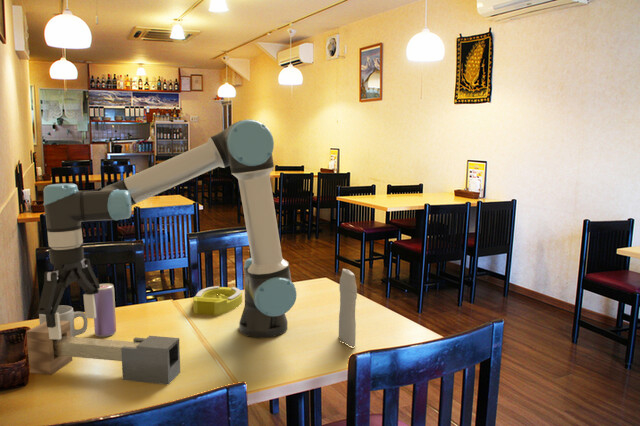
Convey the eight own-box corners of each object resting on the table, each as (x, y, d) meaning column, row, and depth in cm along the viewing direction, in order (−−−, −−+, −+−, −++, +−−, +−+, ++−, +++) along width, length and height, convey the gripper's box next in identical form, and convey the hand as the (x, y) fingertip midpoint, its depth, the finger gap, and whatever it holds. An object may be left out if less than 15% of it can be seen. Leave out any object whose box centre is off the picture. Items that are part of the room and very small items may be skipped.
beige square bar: (156, 357, 120) (156, 343, 120) (149, 363, 117) (149, 349, 116) (57, 348, 125) (56, 335, 124) (47, 354, 121) (46, 340, 121)
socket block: (72, 360, 127) (69, 321, 125) (51, 374, 119) (48, 333, 118) (52, 358, 128) (49, 319, 126) (29, 372, 120) (26, 331, 118)
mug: (43, 356, 129) (40, 318, 127) (39, 345, 136) (37, 308, 134) (91, 346, 136) (89, 309, 134) (85, 336, 143) (83, 301, 141)
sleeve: (180, 372, 121) (179, 338, 120) (168, 384, 115) (167, 348, 114) (136, 368, 123) (135, 334, 122) (122, 380, 117) (121, 344, 116)
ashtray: (183, 314, 163) (183, 300, 163) (207, 295, 184) (206, 282, 183) (229, 317, 161) (228, 303, 160) (248, 297, 181) (248, 285, 180)
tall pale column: (333, 335, 146) (334, 266, 142) (345, 334, 147) (347, 265, 144) (347, 350, 136) (349, 275, 133) (360, 348, 137) (362, 274, 134)
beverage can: (108, 338, 141) (105, 289, 139) (90, 336, 143) (87, 288, 140) (120, 330, 147) (118, 284, 145) (103, 329, 148) (100, 282, 146)
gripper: (84, 235, 131) (91, 309, 134) (13, 258, 106) (23, 348, 109) (109, 236, 129) (115, 310, 133) (43, 259, 105) (52, 349, 108)
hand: (74, 327), depth 121 cm, fingers open, 13 cm apart
